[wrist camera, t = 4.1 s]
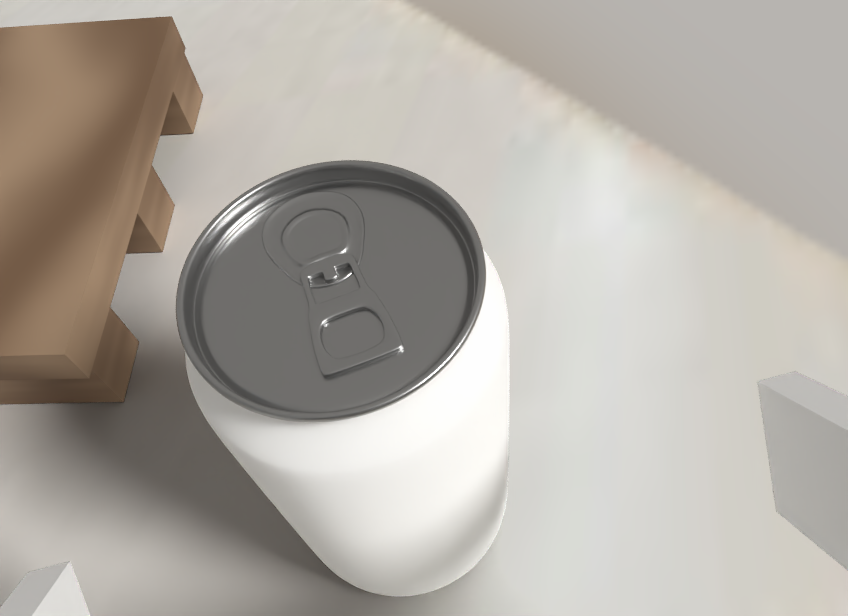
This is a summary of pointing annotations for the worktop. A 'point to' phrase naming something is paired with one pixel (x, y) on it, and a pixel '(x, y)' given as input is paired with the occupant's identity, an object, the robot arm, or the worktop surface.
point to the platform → (81, 195)
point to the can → (357, 367)
